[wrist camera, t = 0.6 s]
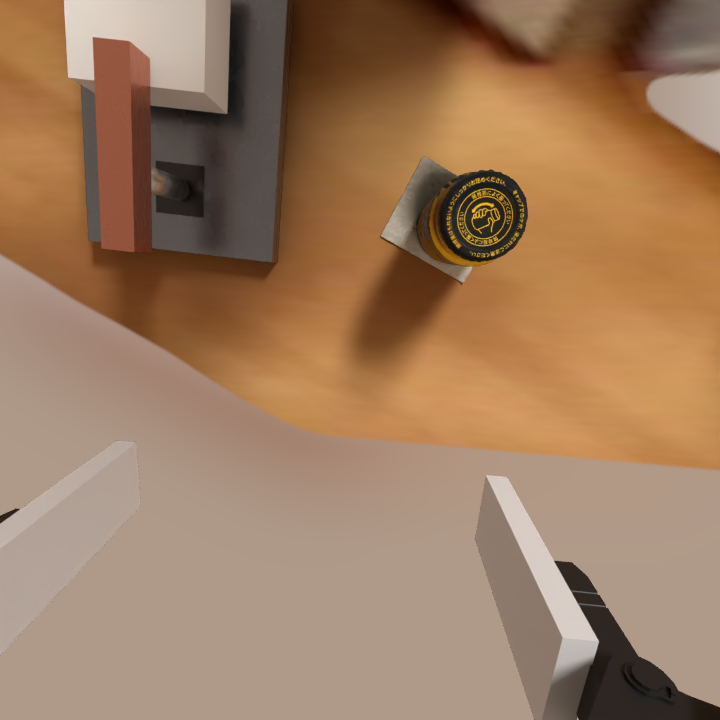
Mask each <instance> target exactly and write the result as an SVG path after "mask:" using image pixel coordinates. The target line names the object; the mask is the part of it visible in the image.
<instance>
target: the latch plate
mask: <svg viewBox="0 0 720 720" xmlns="http://www.w3.org/2000/svg"><path fill="white" fill-rule="evenodd" d="M293 4H294V1H293V0H231V6H230V40H229V74H228V108H227V114H222V113H213V112H204V111H195V110H186V109H177V108H168V107H159V106H151V105H150V107H151V167H154V168H157V169H159V170H162V171H164V172H167V173H169V174H172V175H175V176H177V177H180V178H182V179H184V180H185V181H186V182H187V183H188V185H189V188H190V193H189V196H188V197H187V198H186V199H185V200H183V201H177V200H174V199H170V198H166V197H162V196H159V195H155V194H152V248H154V249H162V250H170V251H179V252H187V253H196V254H204V255H213V256H221V257H230V258H238V259H247V260H255V261H264V262H278V247H279V231H280V214H281V198H282V182H283V166H284V150H285V133H286V117H287V101H288V85H289V69H290V52H291V36H292V20H293ZM81 98H82V118H83V139H84V159H85V179H86V200H87V220H88V240H89V241H94V242H101V227H100V203H99V179H98V155H97V131H96V107H95V93H94V92H93V91H91V90H89V89H87V88H86V87H84V86H82V85H81Z"/></svg>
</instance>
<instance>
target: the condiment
mask: <svg viewBox="0 0 720 720" xmlns="http://www.w3.org/2000/svg"><path fill="white" fill-rule="evenodd" d="M527 218H528V211H527V202H526V197H525V196H524V194H523V192H522V190H521V189H520V187H519V186H518V184H517V183H516V182H515V181H514V180H513V179H511V178H510V177H509V176H507V175H504V174H502V173H501V172H494V171H493V170H491V169H490V170H488V171H484V170H480V171H478V172H469V173H465V174H463V175H460V176H456V175H455V174H453V173H451V172H450V171H448V170H446V169H445V168H443V167H441V166H440V165H438V164H436V163H435V162H433V161H432V160H430V159H428V158H426V157H425V156H423V158H422V160H421V162H420V164H419V166H418V167H417V169H416V171H415V173H414V175H413V177H412V179H411V180H410V182H409V184H408V186H407V188H406V190H405V192H404V194H403V195H402V197H401V199H400V201H399V203H398V205H397V207H396V208H395V210H394V212H393V214H392V216H391V218H390V220H389V222H388V224H387V225H386V227H385V229H384V231H383V233H382V235H381V237H383V238H385V239H387V240H389V241H390V242H392V243H394V244H395V245H397V246H399V247H401V248H403V249H404V250H406V251H408V252H410V253H411V254H413V255H415V256H417V257H418V258H420V259H422V260H423V261H425V262H427V263H429V264H430V265H432V266H434V267H436V268H437V269H439V270H441V271H443V272H444V273H446V274H448V275H450V276H451V277H453V278H455V279H457V280H458V281H460V282H462V283H464V281H465V279H466V278H467V276H468V275H469V273H470V271H471V269H472V268H473V266H480V265H484V264H487V263H489V262H492V261H494V260H495V259H497V258H499V257H501V256H503V255H505V254H506V253H507V252H508V251H510V250H511V249H513V248H514V247H515V246H516V244H517V243H518V241H519V239H520V238H521V237H522V235H523V232H524V231H525V227H526V221H527ZM412 223H413V224H414V226H412ZM414 228H416V231H414Z"/></svg>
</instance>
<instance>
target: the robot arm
mask: <svg viewBox="0 0 720 720" xmlns="http://www.w3.org/2000/svg"><path fill="white" fill-rule="evenodd" d="M140 506H141V502H140V487H139V473H138V459H137V444H136V442H127V441H115V442H114V443H112V444H111V445H110V446H108V447H107V448H105V449H104V450H103V451H101V452H100V453H98V454H97V455H96V456H94V457H93V458H92V459H90V460H89V461H87V462H86V463H84V464H83V465H82V466H80V467H79V468H77V469H76V470H75V471H74V472H72V473H70V474H69V475H68V476H66V477H65V478H63V479H62V480H61V481H60V482H58V483H56V484H55V485H54V486H52V487H51V488H49V489H48V490H47V491H45V492H44V493H42V494H41V495H40V496H38V497H37V498H36V499H34V500H33V501H32V502H30V503H29V504H27V505H26V506H24V507H23V508H22V509H14V510H12V511H10V512H7V513H5V514H3V515H1V516H0V655H1V654H2V653H3V652H4V651H5V650H6V649H7V648H8V647H9V646H10V645H11V643H12V642H13V641H14V640H15V639H16V638H17V637H18V636H19V635H20V634H21V633H22V632H23V631H24V630H25V629H26V627H27V626H28V625H29V624H30V623H31V622H32V621H33V620H34V619H35V618H36V617H37V616H38V615H39V614H40V613H41V611H43V609H44V608H45V607H46V606H47V605H48V604H49V603H50V602H51V601H52V600H53V599H54V598H55V597H56V596H57V595H58V594H59V592H60V591H61V590H62V589H63V588H64V587H65V586H66V585H67V584H68V583H69V582H70V581H71V580H72V579H73V578H74V577H75V576H76V574H77V573H78V572H79V571H80V570H81V569H82V568H83V567H84V566H85V565H86V564H87V563H88V561H90V559H91V558H92V557H93V556H94V555H95V554H96V553H97V552H98V551H99V550H100V549H101V548H102V547H103V546H104V545H105V544H106V543H107V542H108V540H109V539H110V538H111V537H112V536H113V535H114V534H115V533H116V532H117V531H118V530H119V529H120V528H121V527H122V526H123V524H124V523H125V522H126V521H127V520H128V519H129V518H130V517H131V516H132V515H133V514H134V513H135V512H136V511H137V510H138V509H139V508H140ZM475 541H476V544H477V547H478V550H479V553H480V556H481V559H482V562H483V565H484V568H485V571H486V574H487V577H488V580H489V583H490V586H491V590H492V593H493V596H494V599H495V602H496V605H497V608H498V611H499V614H500V617H501V620H502V623H503V626H504V629H505V632H506V635H507V638H508V641H509V644H510V647H511V650H512V653H513V656H514V659H515V662H516V666H517V669H518V672H519V675H520V678H521V681H522V684H523V686H524V690H525V693H526V696H527V699H528V702H529V705H530V708H531V711H532V714H533V717H534V720H577V717H578V719H579V720H720V707H718V706H715V705H712V704H710V703H707V702H704V701H702V700H699V699H696V698H694V697H691V696H688V695H686V694H684V693H682V692H680V691H678V689H677V687H676V686H675V684H674V683H673V682H672V680H671V679H670V678H669V677H668V676H667V675H666V674H665V673H664V672H663V671H662V670H660V669H659V668H658V667H656V666H655V665H654V664H652V663H651V662H649V661H647V660H645V659H643V658H641V657H639V656H638V655H637V653H636V652H635V650H634V649H633V647H632V646H631V644H630V642H629V641H628V639H627V638H626V637H625V635H624V633H623V631H622V630H621V628H620V627H619V625H618V624H617V622H616V621H615V619H614V617H613V616H612V614H611V613H610V611H609V609H608V608H606V605H605V603H604V602H603V600H602V598H601V597H600V595H598V594H597V591H596V589H595V588H594V586H593V584H592V583H591V581H590V580H589V578H588V577H587V576H586V575H585V574H584V573H583V572H582V571H581V570H580V569H579V568H578V567H576V566H575V565H574V564H573V563H571V562H561V561H554V560H553V559H552V557H551V555H550V553H549V551H548V550H547V548H546V546H545V544H544V542H543V541H542V539H541V537H540V535H539V534H538V532H537V530H536V528H535V526H534V525H533V523H532V521H531V519H530V518H529V516H528V514H527V512H526V510H525V509H524V507H523V505H522V503H521V501H520V500H519V498H518V496H517V494H516V493H515V491H514V489H513V487H512V485H511V484H510V482H509V480H508V478H507V477H500V476H489V475H486V479H485V484H484V490H483V495H482V501H481V507H480V513H479V518H478V524H477V530H476V535H475Z"/></svg>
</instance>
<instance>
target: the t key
mask: <svg viewBox="0 0 720 720" xmlns="http://www.w3.org/2000/svg"><path fill="white" fill-rule="evenodd" d="M93 59H94V83H95V107H96V131H97V155H98V179H99V203H100V227H101V249H110V250H118V251H127V252H142V253H152V194H155V195H159V196H162V197H166V198H170V199H174V200H177V201H183V200H185V199H186V198H187V197H188V196H189V193H190V188H189V185H188V183H187V182H186V181H185V180H184V179H182V178H180V177H177V176H175V175H172V174H169V173H167V172H164V171H162V170H159V169H157V168H154V167H151V107H150V58H149V57H148V56H146V55H145V54H144V53H143V52H142V51H141V50H139V49H138V48H137V47H136V46H135V45H134V44H132V43H131V42H130V41H125V40H115V39H106V38H97V37H93Z"/></svg>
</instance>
